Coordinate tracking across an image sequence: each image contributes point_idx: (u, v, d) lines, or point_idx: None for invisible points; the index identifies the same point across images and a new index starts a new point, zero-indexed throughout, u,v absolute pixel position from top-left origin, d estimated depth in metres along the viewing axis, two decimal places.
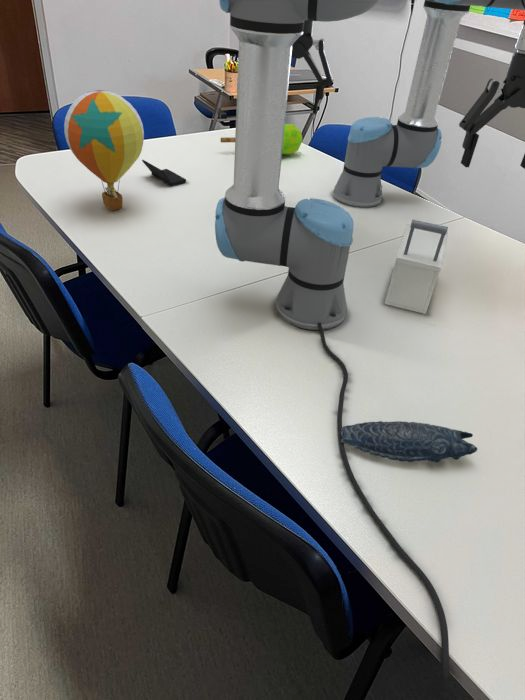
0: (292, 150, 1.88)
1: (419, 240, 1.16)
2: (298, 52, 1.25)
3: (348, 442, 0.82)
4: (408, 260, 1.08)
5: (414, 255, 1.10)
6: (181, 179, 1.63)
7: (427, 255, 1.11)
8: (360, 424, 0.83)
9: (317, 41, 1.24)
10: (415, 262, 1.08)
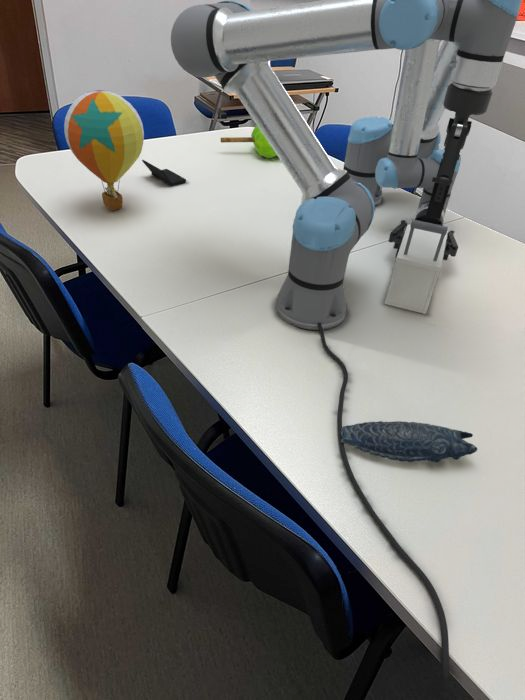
0: None
1: (419, 240, 1.16)
2: None
3: (348, 442, 0.82)
4: (408, 260, 1.08)
5: (414, 255, 1.10)
6: (181, 179, 1.63)
7: (427, 255, 1.11)
8: (360, 424, 0.83)
9: None
10: (415, 262, 1.08)
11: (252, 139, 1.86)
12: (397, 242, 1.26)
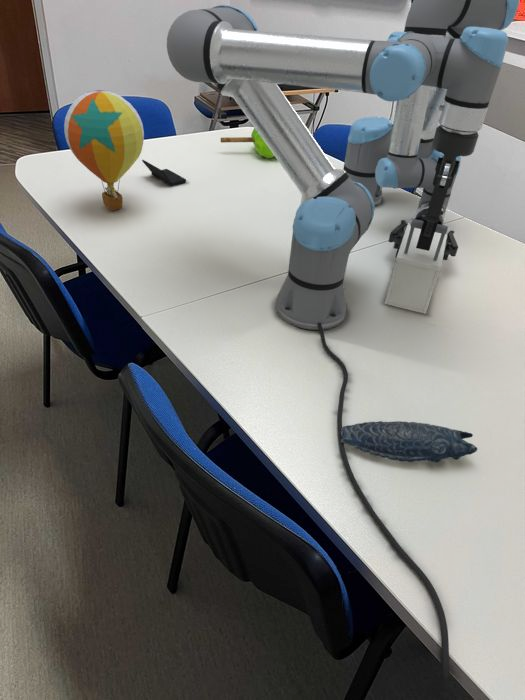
0: None
1: None
2: None
3: (348, 442, 0.82)
4: (408, 259, 1.08)
5: (414, 254, 1.10)
6: (181, 179, 1.63)
7: (427, 255, 1.11)
8: (360, 424, 0.83)
9: None
10: (415, 261, 1.08)
11: (252, 139, 1.86)
12: (397, 242, 1.26)
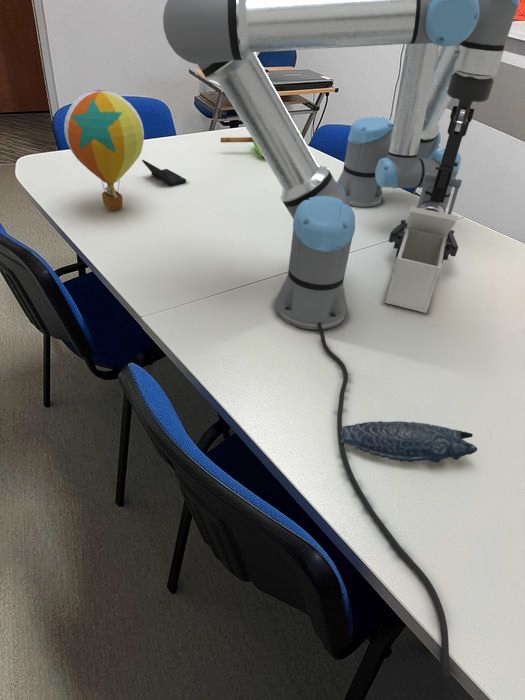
0: None
1: None
2: None
3: (348, 442, 0.82)
4: (423, 209, 1.05)
5: None
6: (181, 179, 1.63)
7: None
8: (360, 424, 0.83)
9: None
10: (430, 211, 1.05)
11: (252, 139, 1.86)
12: (397, 242, 1.26)
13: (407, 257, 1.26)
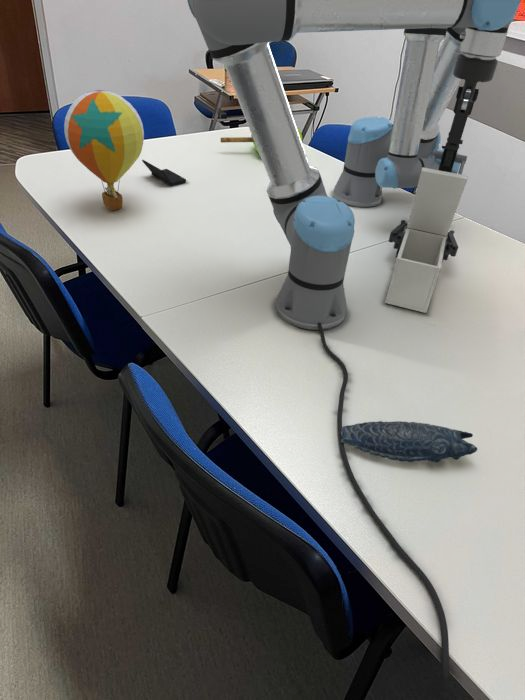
0: None
1: None
2: None
3: (348, 442, 0.82)
4: (434, 170, 1.06)
5: None
6: (181, 179, 1.63)
7: None
8: (360, 424, 0.83)
9: None
10: (441, 171, 1.06)
11: (252, 139, 1.86)
12: (397, 242, 1.26)
13: (407, 257, 1.26)
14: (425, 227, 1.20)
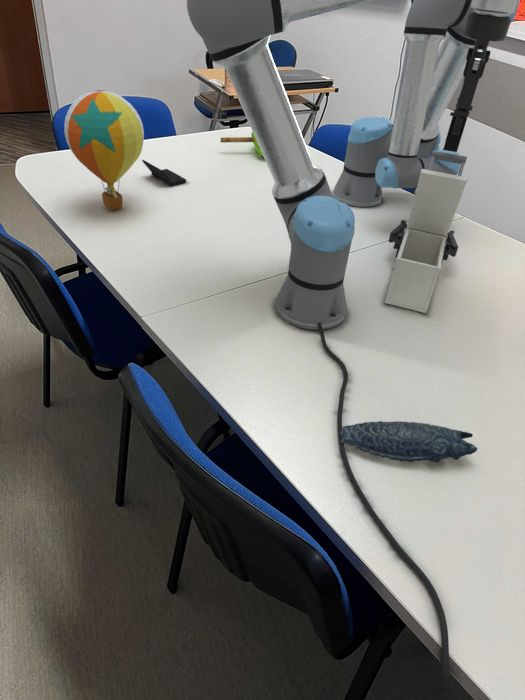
0: None
1: None
2: None
3: (348, 442, 0.82)
4: (433, 171, 1.06)
5: None
6: (181, 179, 1.63)
7: None
8: (360, 424, 0.83)
9: None
10: (441, 173, 1.06)
11: (252, 139, 1.86)
12: (397, 242, 1.26)
13: (407, 257, 1.26)
14: (425, 227, 1.20)
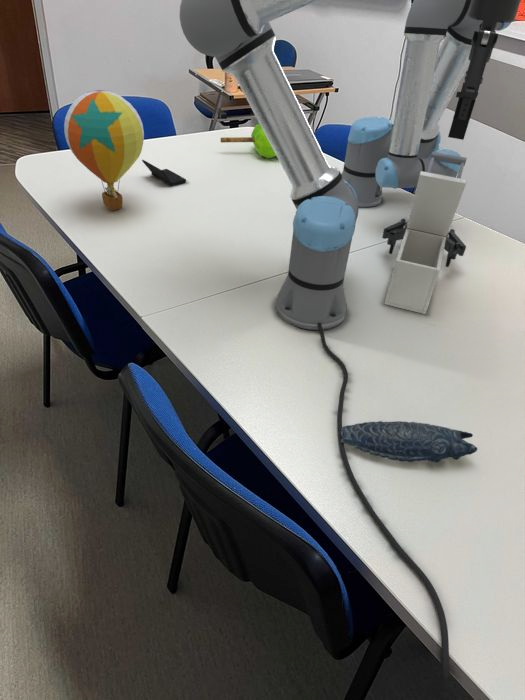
0: None
1: None
2: None
3: (348, 442, 0.82)
4: (433, 174, 1.06)
5: None
6: (181, 179, 1.63)
7: None
8: (360, 424, 0.83)
9: None
10: (440, 175, 1.05)
11: (252, 139, 1.86)
12: (390, 238, 1.28)
13: (407, 257, 1.26)
14: (425, 228, 1.20)
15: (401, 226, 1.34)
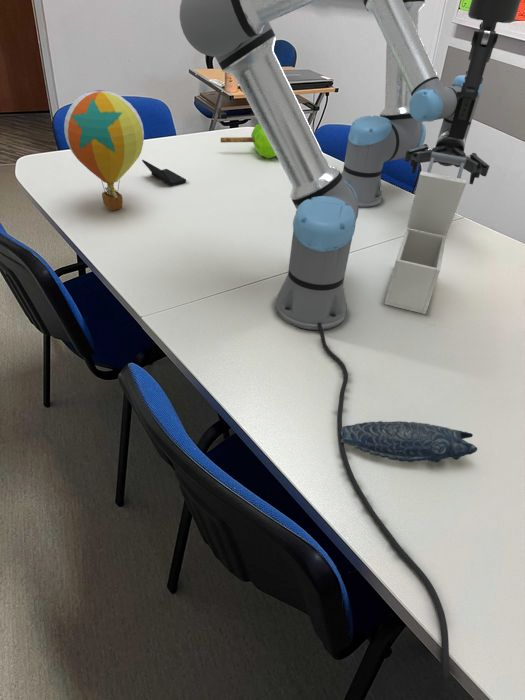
0: None
1: None
2: None
3: (348, 442, 0.82)
4: (433, 174, 1.06)
5: None
6: (181, 179, 1.63)
7: None
8: (360, 424, 0.83)
9: None
10: (440, 175, 1.05)
11: (252, 139, 1.86)
12: (413, 158, 1.27)
13: (407, 257, 1.26)
14: (425, 228, 1.20)
15: (423, 150, 1.34)
